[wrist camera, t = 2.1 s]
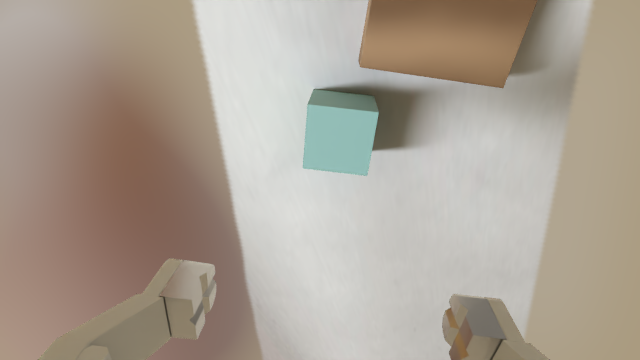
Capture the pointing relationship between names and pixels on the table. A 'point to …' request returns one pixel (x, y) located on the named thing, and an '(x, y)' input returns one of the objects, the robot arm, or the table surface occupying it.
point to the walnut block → (445, 38)
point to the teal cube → (340, 132)
